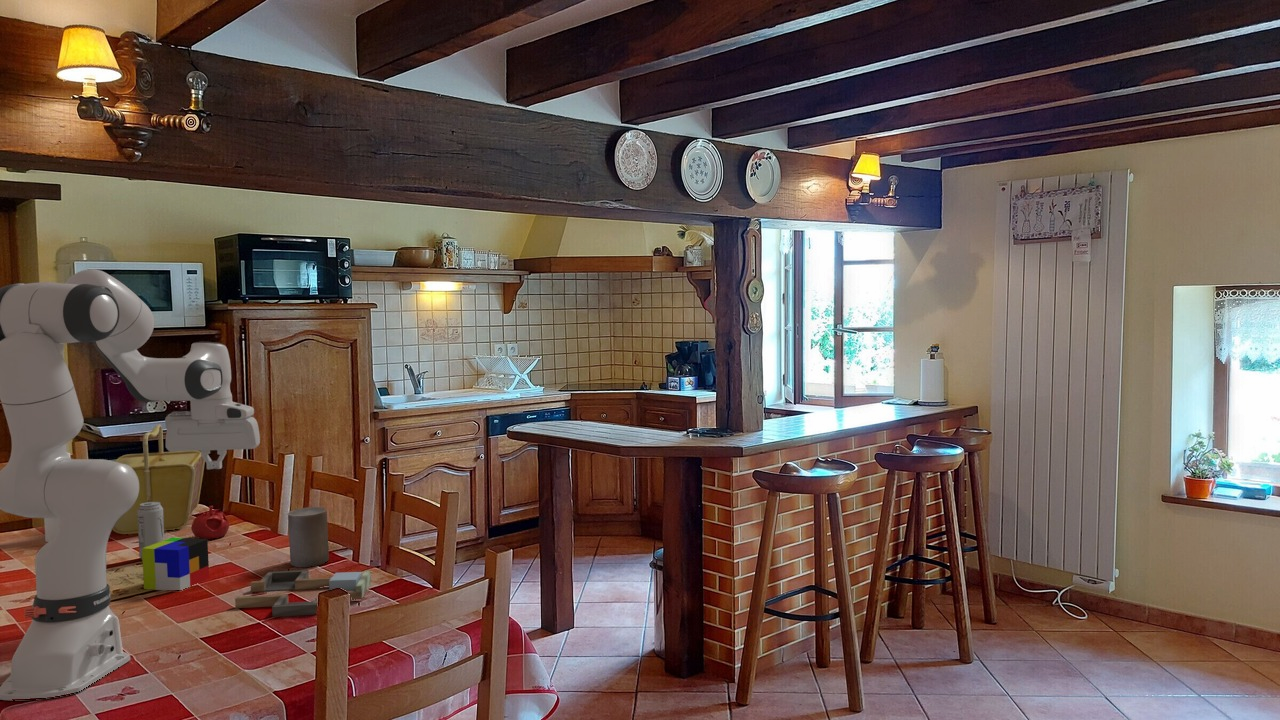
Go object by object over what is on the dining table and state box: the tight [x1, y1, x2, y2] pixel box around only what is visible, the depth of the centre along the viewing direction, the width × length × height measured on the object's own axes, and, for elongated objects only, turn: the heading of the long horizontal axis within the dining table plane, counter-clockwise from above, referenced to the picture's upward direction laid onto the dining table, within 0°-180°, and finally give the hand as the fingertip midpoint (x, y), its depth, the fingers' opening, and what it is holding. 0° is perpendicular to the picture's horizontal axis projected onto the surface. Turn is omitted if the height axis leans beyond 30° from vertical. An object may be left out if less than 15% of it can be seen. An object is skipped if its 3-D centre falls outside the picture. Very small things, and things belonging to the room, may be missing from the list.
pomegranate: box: [191, 505, 230, 540], centre depth 256 cm, size 10×10×9 cm
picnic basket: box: [112, 424, 206, 535], centre depth 273 cm, size 29×26×30 cm
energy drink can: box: [137, 502, 165, 562], centre depth 234 cm, size 6×6×15 cm
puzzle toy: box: [142, 536, 210, 591], centre depth 212 cm, size 10×10×10 cm
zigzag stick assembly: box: [234, 569, 372, 618], centre depth 202 cm, size 27×27×4 cm
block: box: [328, 571, 363, 591], centre depth 203 cm, size 6×6×4 cm
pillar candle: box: [287, 505, 330, 568], centre depth 229 cm, size 10×10×15 cm
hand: (214, 468), depth 206 cm, fingers closed
